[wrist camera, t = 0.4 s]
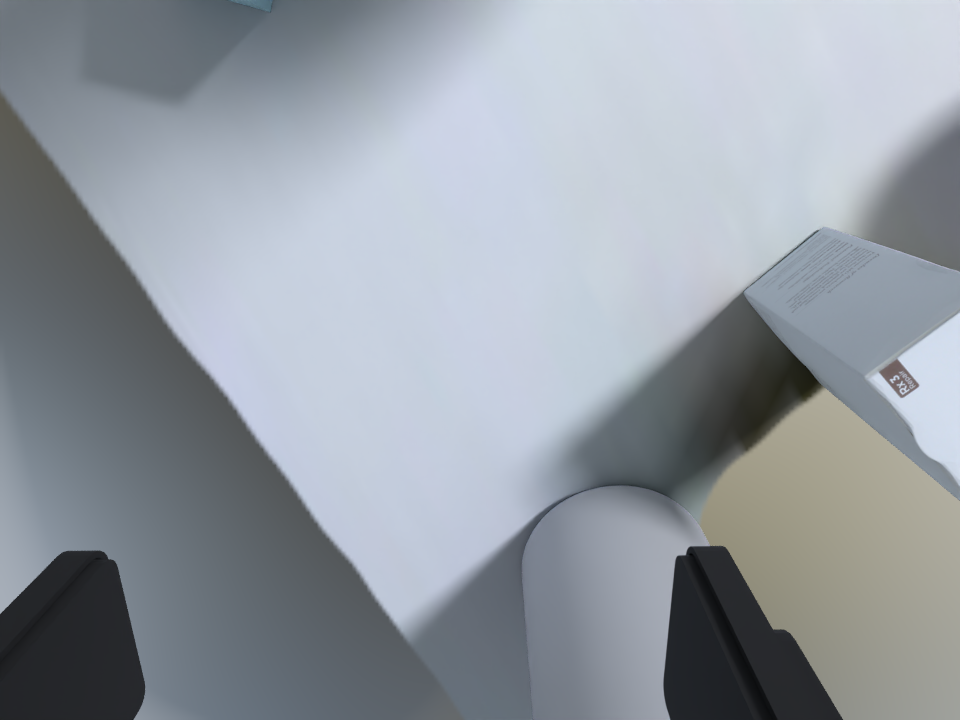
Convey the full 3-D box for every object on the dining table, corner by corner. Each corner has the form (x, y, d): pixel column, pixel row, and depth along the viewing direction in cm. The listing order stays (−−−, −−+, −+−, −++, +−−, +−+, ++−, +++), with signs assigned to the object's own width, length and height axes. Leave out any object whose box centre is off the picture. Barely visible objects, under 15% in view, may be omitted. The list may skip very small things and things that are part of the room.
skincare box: (898, 321, 40) (1124, 431, 26) (813, 387, 41) (983, 524, 27) (817, 218, 38) (1014, 276, 24) (731, 291, 39) (868, 385, 25)
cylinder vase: (647, 446, 42) (849, 850, 19) (737, 581, 46) (1002, 1066, 22) (485, 539, 45) (483, 998, 21) (581, 661, 48) (671, 1173, 25)
